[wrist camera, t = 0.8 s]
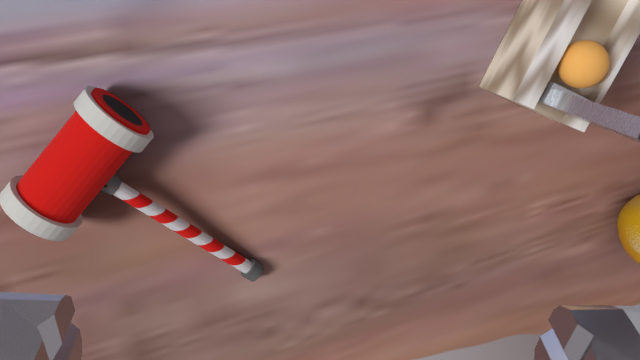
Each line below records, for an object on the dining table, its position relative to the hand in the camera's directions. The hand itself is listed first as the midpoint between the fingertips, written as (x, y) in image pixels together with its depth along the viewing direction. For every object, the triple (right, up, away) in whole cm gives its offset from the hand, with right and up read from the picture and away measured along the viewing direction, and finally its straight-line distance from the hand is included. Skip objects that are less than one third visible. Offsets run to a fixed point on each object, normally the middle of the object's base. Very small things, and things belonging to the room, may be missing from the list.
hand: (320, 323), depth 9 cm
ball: (+22, +12, +37) cm, 45 cm away
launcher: (+22, +19, +43) cm, 52 cm away
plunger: (+20, +10, +40) cm, 46 cm away
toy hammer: (-16, +2, +41) cm, 44 cm away
